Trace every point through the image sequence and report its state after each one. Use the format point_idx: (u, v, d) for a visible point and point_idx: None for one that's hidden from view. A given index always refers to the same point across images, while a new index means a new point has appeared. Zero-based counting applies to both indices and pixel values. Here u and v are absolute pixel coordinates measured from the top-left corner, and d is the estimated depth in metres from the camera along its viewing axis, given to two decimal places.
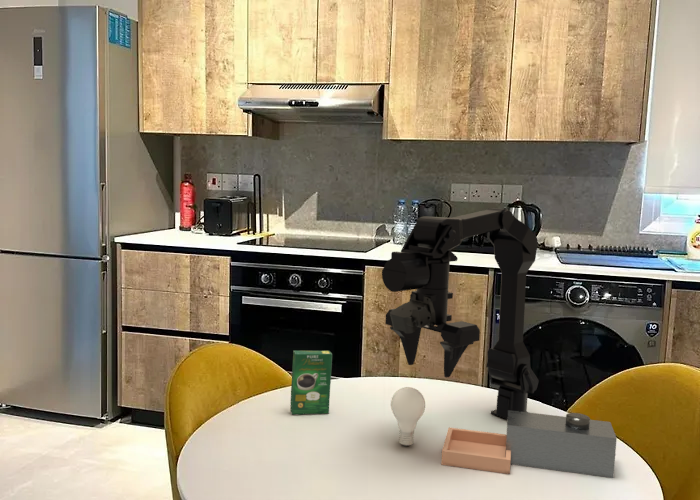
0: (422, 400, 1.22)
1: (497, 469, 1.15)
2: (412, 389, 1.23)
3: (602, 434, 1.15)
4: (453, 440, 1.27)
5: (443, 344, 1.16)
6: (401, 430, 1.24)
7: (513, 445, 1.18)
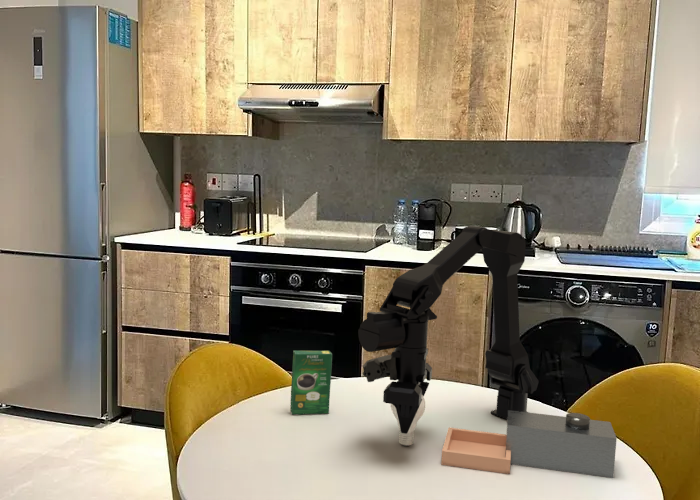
0: (422, 400, 1.22)
1: (497, 469, 1.15)
2: None
3: (602, 434, 1.15)
4: (453, 440, 1.27)
5: None
6: None
7: (513, 445, 1.18)
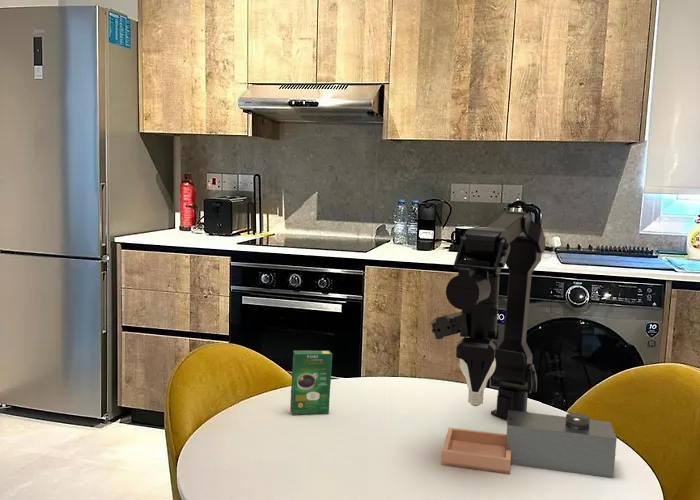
0: None
1: (497, 469, 1.15)
2: None
3: (602, 434, 1.15)
4: (453, 440, 1.27)
5: None
6: (471, 389, 1.19)
7: (513, 445, 1.18)
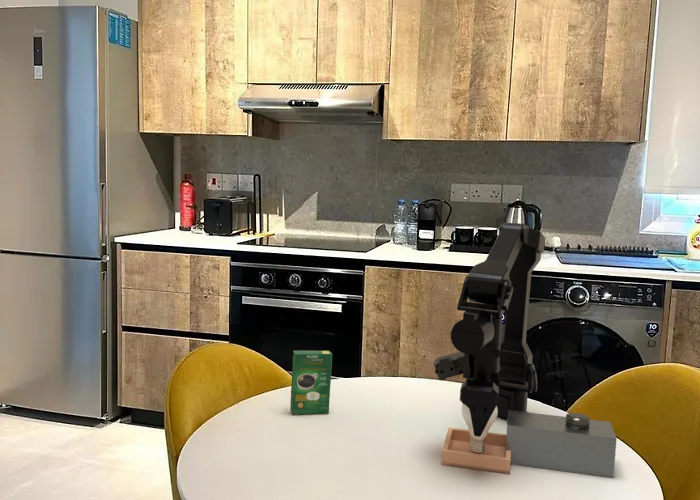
0: None
1: (497, 469, 1.15)
2: None
3: (602, 434, 1.15)
4: (453, 440, 1.27)
5: None
6: (473, 437, 1.20)
7: (513, 445, 1.18)
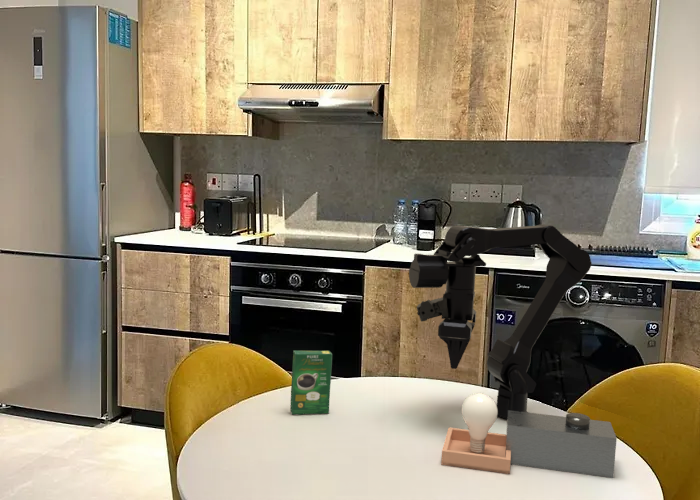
0: (495, 406, 1.19)
1: (497, 469, 1.15)
2: (484, 395, 1.20)
3: (602, 434, 1.15)
4: (453, 440, 1.27)
5: None
6: (472, 437, 1.20)
7: (513, 445, 1.18)
